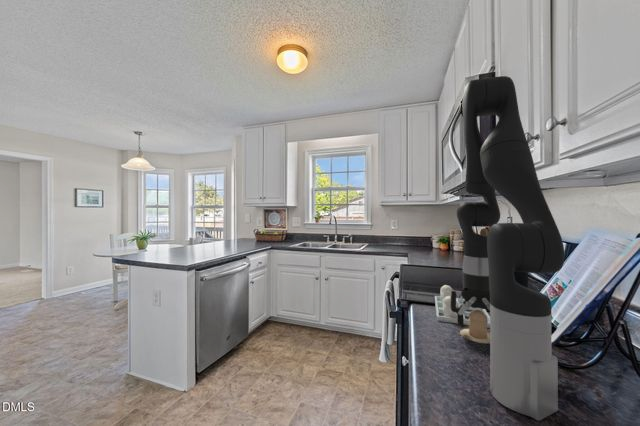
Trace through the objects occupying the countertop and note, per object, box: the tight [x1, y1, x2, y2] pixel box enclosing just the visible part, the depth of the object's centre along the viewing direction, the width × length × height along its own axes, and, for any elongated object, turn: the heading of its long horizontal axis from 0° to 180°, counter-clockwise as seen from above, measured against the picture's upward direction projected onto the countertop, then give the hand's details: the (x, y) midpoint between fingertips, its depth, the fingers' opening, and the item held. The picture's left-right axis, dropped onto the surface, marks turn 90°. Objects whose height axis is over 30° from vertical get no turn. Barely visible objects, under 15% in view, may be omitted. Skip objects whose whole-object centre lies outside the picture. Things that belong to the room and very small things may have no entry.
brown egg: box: [468, 310, 488, 339], centre depth 75 cm, size 4×4×7 cm
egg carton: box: [434, 295, 490, 329], centre depth 93 cm, size 23×16×2 cm
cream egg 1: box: [439, 284, 453, 302], centre depth 102 cm, size 4×4×7 cm
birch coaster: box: [459, 328, 490, 344], centre depth 75 cm, size 9×9×1 cm
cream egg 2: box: [442, 296, 458, 318], centre depth 88 cm, size 4×4×7 cm
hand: (477, 329), depth 75 cm, fingers open, 7 cm apart
